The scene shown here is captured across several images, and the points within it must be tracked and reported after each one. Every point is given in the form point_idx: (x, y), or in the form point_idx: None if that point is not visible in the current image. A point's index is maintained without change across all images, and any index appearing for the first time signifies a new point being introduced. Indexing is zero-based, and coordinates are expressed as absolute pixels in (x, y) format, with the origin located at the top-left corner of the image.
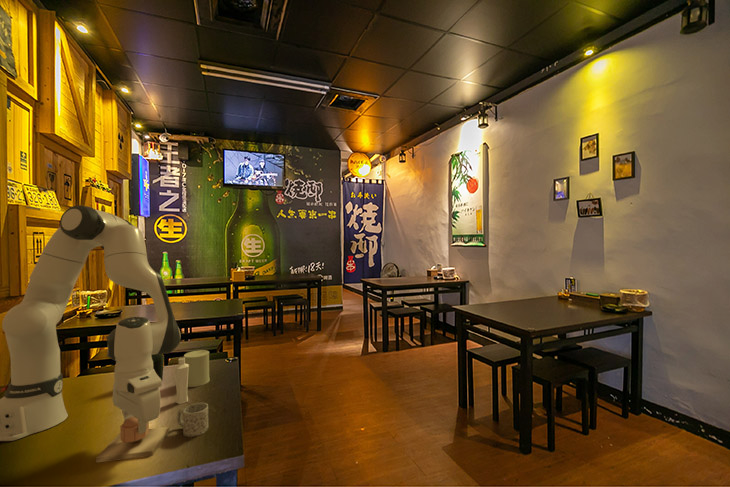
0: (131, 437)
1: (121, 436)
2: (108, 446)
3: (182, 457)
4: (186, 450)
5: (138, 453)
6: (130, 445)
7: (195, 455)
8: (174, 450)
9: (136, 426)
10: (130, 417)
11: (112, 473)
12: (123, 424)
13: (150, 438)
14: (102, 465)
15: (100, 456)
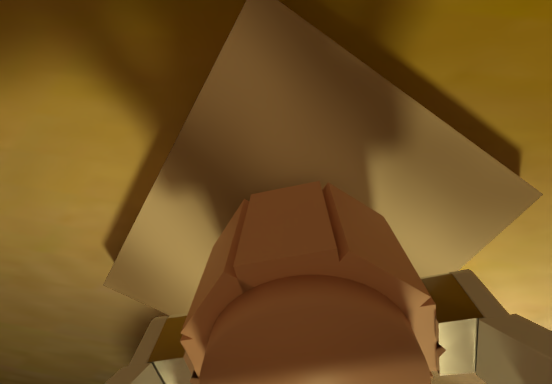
0: (216, 254)
1: (302, 200)
2: (379, 93)
3: (20, 343)
4: (73, 365)
5: (135, 226)
6: None
7: (10, 375)
8: (105, 337)
9: (204, 351)
10: (420, 377)
11: (35, 71)
12: (373, 280)
13: None
14: (184, 28)
15: (252, 19)
